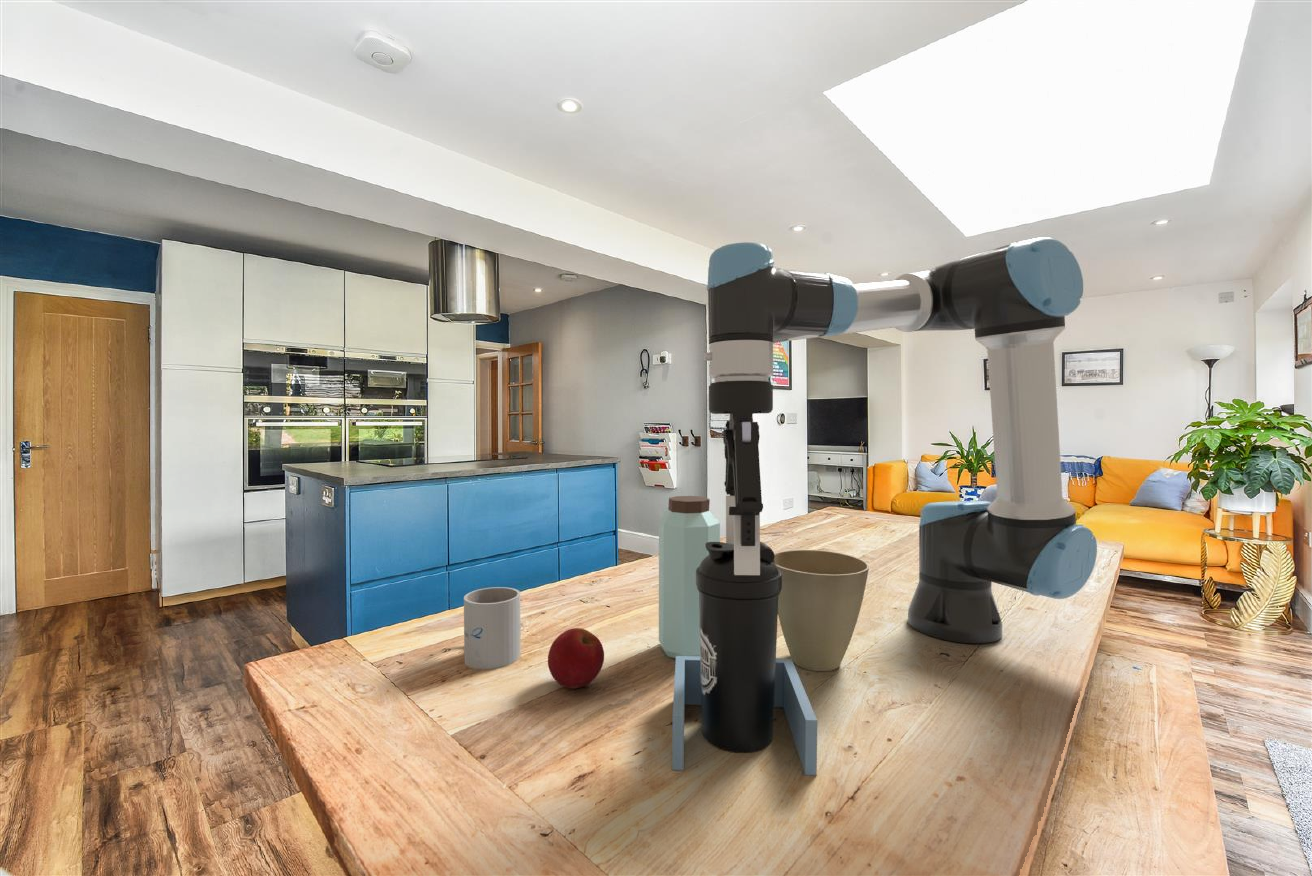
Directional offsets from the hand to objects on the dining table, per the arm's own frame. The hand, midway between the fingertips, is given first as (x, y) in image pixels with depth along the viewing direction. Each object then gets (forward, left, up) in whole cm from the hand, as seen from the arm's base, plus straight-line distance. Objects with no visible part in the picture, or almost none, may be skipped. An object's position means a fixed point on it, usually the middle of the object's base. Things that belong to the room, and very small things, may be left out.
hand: (741, 558), depth 68 cm
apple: (+22, -11, -22) cm, 33 cm away
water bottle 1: (+6, -24, -22) cm, 33 cm away
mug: (+38, -21, -22) cm, 49 cm away
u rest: (0, 0, -21) cm, 21 cm away
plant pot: (-14, -21, -22) cm, 33 cm away
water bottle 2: (0, 0, -22) cm, 22 cm away
